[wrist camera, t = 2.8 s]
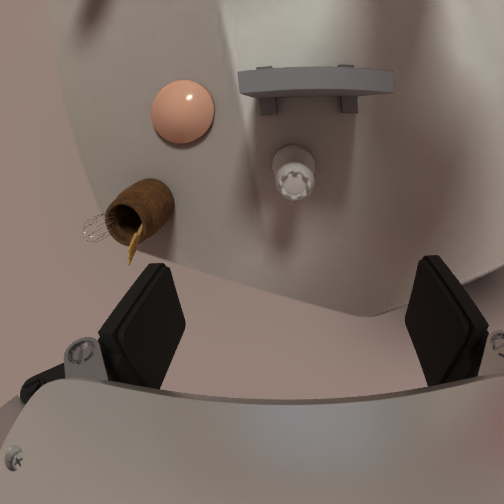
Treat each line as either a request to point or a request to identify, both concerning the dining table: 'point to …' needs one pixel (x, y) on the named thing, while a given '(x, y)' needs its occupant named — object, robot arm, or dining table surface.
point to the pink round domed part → (182, 111)
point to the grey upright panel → (314, 84)
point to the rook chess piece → (293, 172)
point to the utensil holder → (138, 213)
